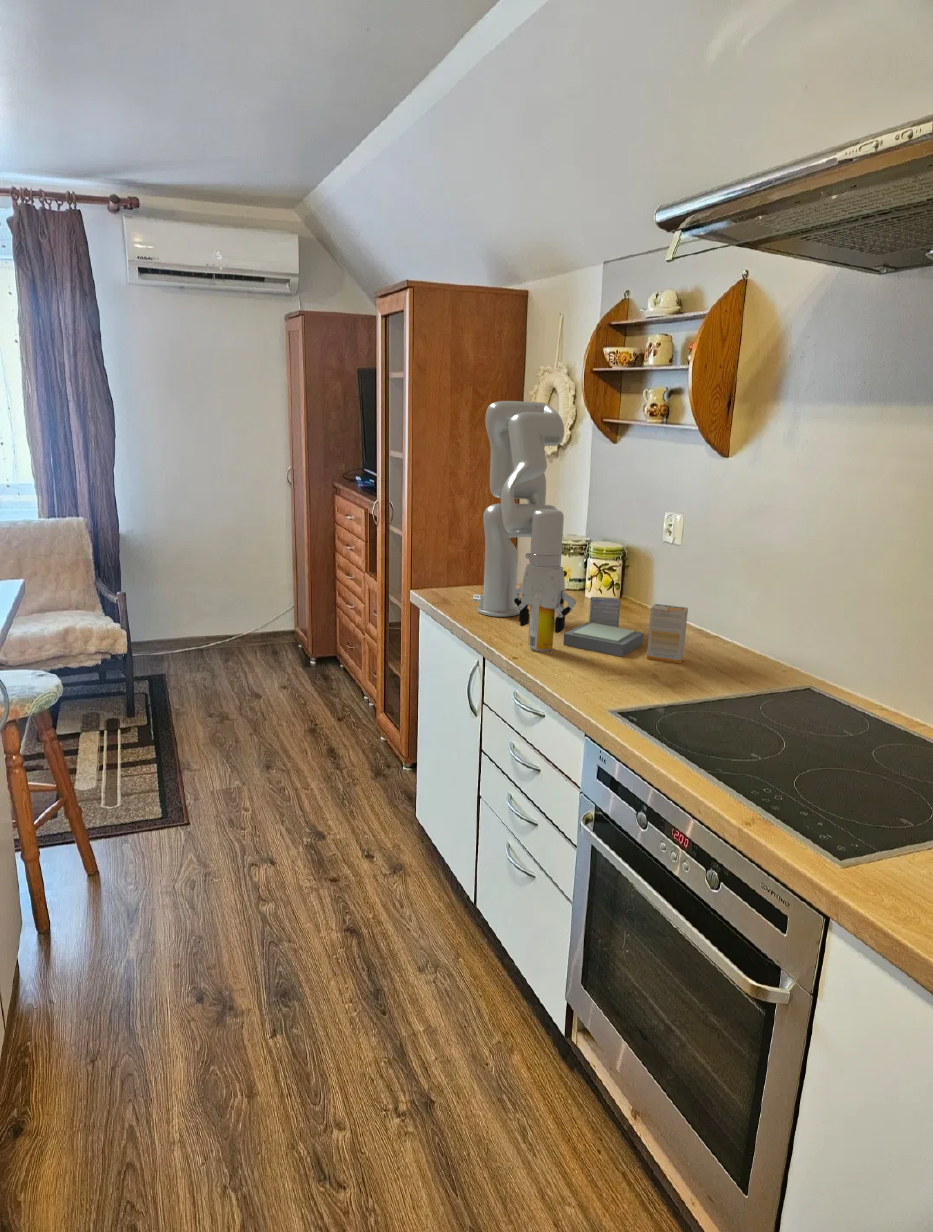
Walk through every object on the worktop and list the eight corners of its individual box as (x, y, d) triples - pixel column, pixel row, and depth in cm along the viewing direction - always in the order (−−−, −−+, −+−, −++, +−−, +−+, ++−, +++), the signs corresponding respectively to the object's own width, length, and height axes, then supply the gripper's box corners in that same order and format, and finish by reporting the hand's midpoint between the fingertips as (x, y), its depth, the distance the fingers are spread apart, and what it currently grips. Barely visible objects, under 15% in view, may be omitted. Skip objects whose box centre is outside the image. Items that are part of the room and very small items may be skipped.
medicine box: (617, 628, 226) (619, 597, 224) (618, 632, 222) (621, 601, 219) (588, 626, 226) (590, 596, 224) (589, 630, 222) (591, 599, 220)
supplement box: (683, 659, 200) (689, 607, 196) (680, 664, 195) (685, 611, 192) (650, 653, 203) (655, 602, 200) (645, 658, 199) (650, 606, 195)
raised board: (563, 644, 208) (564, 631, 207) (586, 633, 219) (586, 620, 218) (622, 656, 200) (623, 643, 199) (642, 644, 211) (644, 631, 210)
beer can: (557, 649, 204) (561, 590, 200) (542, 654, 199) (545, 594, 196) (538, 644, 208) (541, 586, 204) (522, 648, 203) (526, 589, 200)
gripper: (506, 558, 199) (503, 625, 204) (571, 567, 190) (566, 637, 195) (521, 554, 205) (518, 619, 210) (584, 562, 197) (579, 631, 201)
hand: (541, 628), depth 202 cm, fingers open, 9 cm apart
